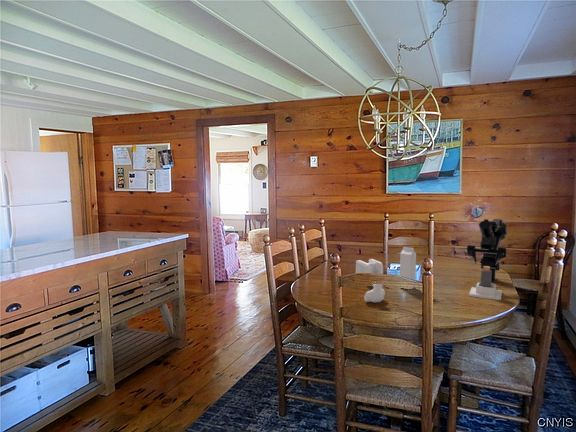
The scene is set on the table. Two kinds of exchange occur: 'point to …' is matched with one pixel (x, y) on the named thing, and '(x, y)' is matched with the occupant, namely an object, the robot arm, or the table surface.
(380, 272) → the cable organizer
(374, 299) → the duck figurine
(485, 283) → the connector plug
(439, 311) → the table surface
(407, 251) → the milk
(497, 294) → the end holder
